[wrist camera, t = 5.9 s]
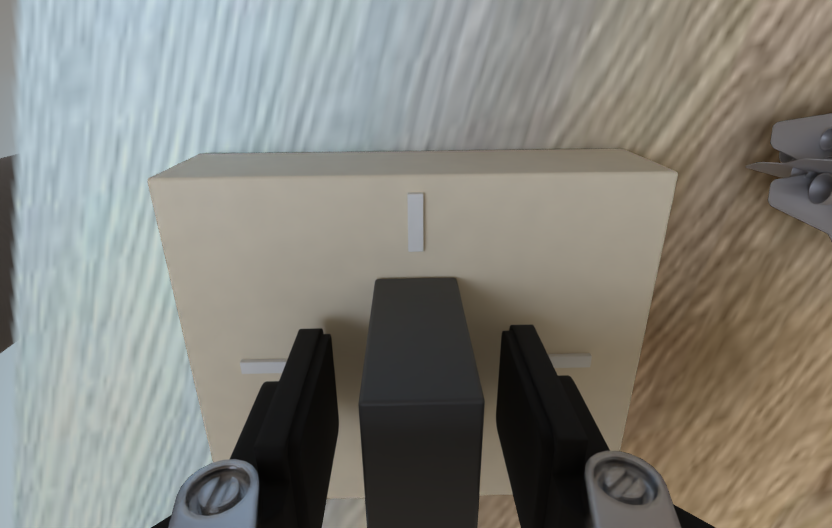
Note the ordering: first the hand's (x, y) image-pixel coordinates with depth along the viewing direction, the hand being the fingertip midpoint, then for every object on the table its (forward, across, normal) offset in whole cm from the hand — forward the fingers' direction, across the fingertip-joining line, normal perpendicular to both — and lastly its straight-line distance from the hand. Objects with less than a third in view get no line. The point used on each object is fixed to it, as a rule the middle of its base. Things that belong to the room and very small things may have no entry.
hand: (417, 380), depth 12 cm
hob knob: (+1, 0, 0) cm, 1 cm away
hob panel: (+4, 0, 0) cm, 4 cm away
